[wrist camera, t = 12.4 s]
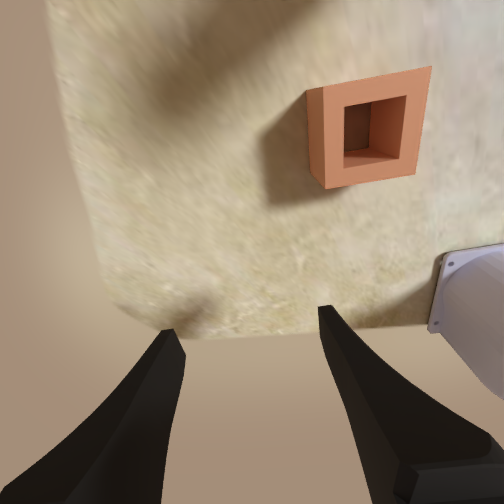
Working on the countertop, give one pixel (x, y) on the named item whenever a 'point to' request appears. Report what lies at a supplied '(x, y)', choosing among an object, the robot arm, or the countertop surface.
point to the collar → (381, 128)
